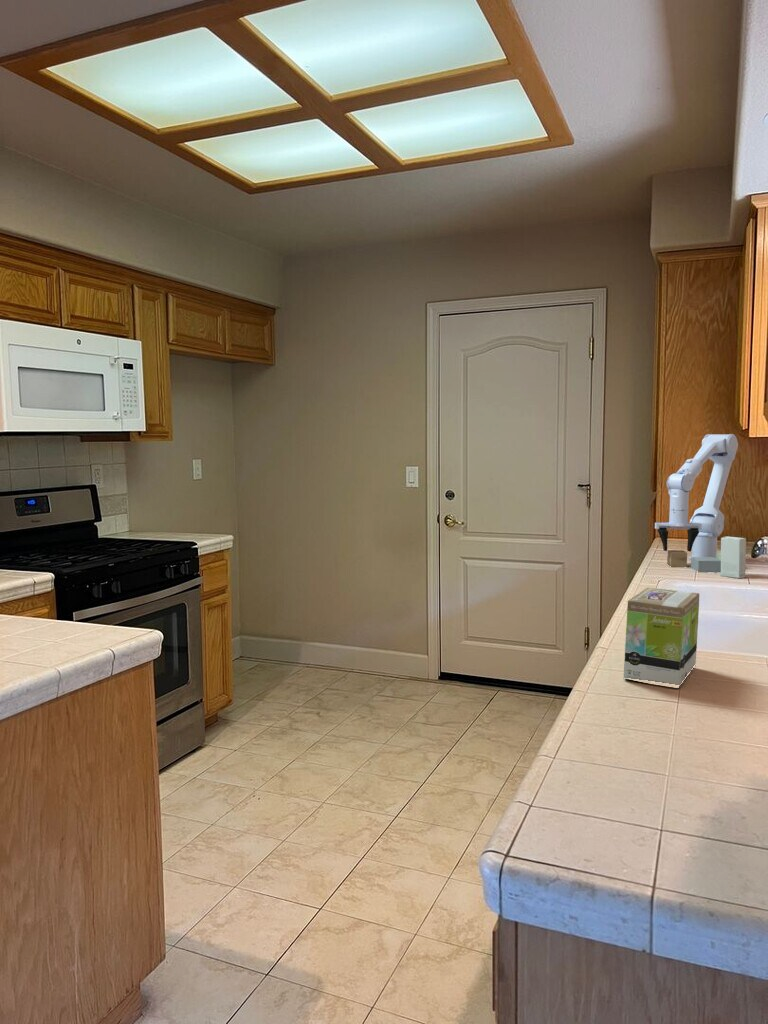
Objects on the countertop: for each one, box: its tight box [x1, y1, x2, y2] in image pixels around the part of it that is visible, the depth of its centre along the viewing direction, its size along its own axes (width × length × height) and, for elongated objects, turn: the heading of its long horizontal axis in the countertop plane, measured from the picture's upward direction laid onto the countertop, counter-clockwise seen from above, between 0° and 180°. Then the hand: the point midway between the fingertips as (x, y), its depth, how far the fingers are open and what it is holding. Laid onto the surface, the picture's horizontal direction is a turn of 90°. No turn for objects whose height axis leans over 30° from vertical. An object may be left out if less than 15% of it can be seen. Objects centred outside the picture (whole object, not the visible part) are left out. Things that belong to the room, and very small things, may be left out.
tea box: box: [623, 587, 700, 685], centre depth 138 cm, size 15×10×15 cm, turn 148°
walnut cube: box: [666, 549, 688, 568], centre depth 250 cm, size 5×5×5 cm
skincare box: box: [720, 535, 747, 579], centre depth 231 cm, size 6×4×12 cm
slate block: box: [690, 556, 721, 573], centre depth 242 cm, size 7×7×4 cm
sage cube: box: [716, 551, 721, 560], centre depth 246 cm, size 5×5×5 cm
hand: (677, 550), depth 250 cm, fingers open, 7 cm apart
